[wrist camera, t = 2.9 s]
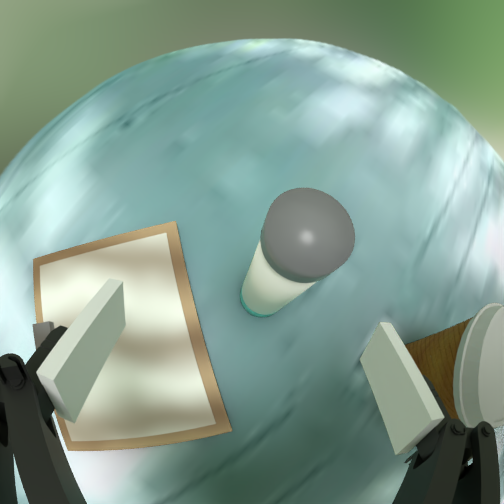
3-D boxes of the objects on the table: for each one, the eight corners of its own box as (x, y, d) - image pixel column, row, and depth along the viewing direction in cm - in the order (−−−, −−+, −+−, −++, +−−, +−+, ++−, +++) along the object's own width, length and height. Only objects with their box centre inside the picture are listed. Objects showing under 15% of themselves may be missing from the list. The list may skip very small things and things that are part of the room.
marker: (289, 311, 23) (368, 259, 11) (246, 323, 22) (284, 284, 10) (276, 269, 24) (334, 182, 12) (233, 280, 23) (254, 195, 11)
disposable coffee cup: (403, 436, 20) (495, 457, 8) (355, 376, 21) (454, 378, 10) (453, 368, 22) (540, 356, 11) (413, 307, 24) (504, 271, 13)
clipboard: (231, 428, 19) (233, 434, 17) (71, 448, 16) (63, 453, 14) (176, 224, 24) (174, 215, 23) (37, 261, 21) (28, 255, 19)
